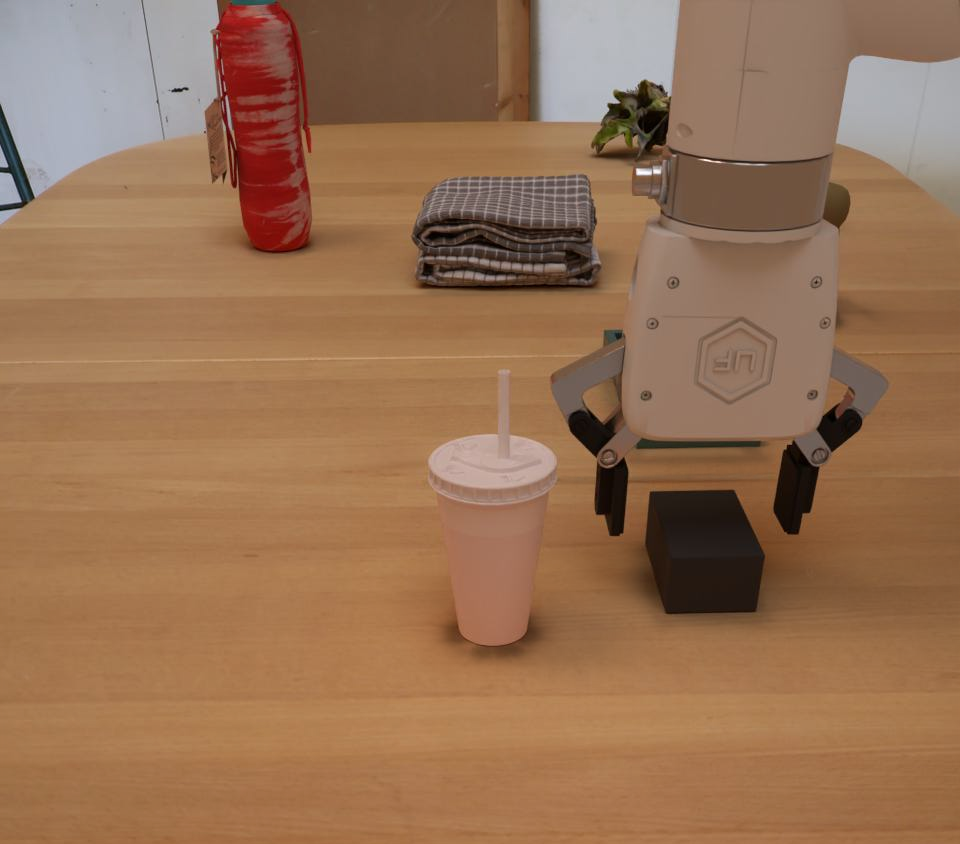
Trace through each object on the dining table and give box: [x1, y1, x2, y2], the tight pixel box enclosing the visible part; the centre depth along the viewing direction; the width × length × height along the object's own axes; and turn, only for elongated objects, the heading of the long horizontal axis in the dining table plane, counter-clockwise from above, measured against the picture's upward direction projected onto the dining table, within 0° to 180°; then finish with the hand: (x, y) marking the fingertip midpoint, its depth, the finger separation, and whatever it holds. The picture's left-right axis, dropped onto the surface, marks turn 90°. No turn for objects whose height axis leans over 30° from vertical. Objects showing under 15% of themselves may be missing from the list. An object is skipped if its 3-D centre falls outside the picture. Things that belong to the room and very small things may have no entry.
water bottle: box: [203, 0, 313, 253], centre depth 116 cm, size 12×8×25 cm, turn 81°
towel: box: [410, 173, 603, 287], centre depth 112 cm, size 15×18×8 cm
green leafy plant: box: [590, 78, 671, 163], centre depth 158 cm, size 11×11×12 cm
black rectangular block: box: [644, 489, 766, 614], centre depth 64 cm, size 8×5×4 cm, turn 2°
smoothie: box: [427, 369, 558, 647], centre depth 56 cm, size 6×6×14 cm
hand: (699, 524), depth 62 cm, fingers open, 9 cm apart
